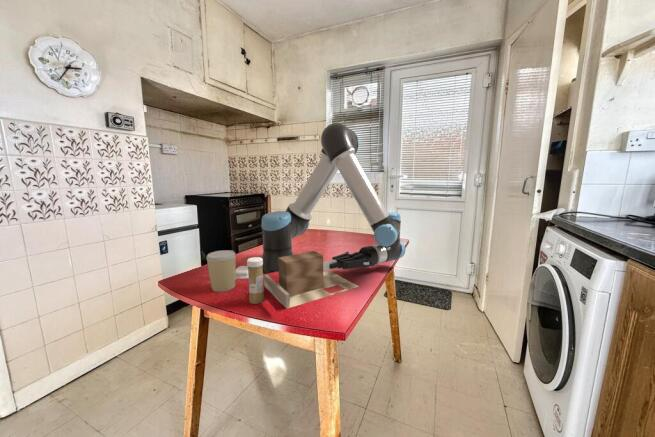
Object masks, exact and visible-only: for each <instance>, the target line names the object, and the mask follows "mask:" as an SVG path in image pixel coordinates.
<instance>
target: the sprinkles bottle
mask: <svg viewBox="0 0 655 437" xmlns="http://www.w3.org/2000/svg"><path fill="white" fill-rule="evenodd" d="M262 265H263V259H262V257H259V256H253V257H249V258H247V260H246V266H248V275H249V278H248V279H247V280H248V292H249V293H248V294H249V303H250V304H255V305H257V304H261V303H263V302H264V301H265V293H264V291H265V289H264V288H265V285H264V273H263V268H262Z"/></svg>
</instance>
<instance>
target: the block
mask: <svg viewBox="0 0 655 437" xmlns="http://www.w3.org/2000/svg"><path fill="white" fill-rule="evenodd" d="M323 262H324V255H323V254H322V253H320V252H317V251H315V250H311V251H306V252H301V253H296V254H294V255H289V256H284V257H279V258H278V267H279V272H278V283H279V285H280V286H281V287H282V288H283V289H284V290H285V291H286V292H288V293H289V295H290V297H291V296H295V295H298V294H302V293H305V292H309V291H312V290H316V289H319V288H323V287H324V279H323V272H324V271H323Z"/></svg>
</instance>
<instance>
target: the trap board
mask: <svg viewBox="0 0 655 437" xmlns="http://www.w3.org/2000/svg"><path fill="white" fill-rule="evenodd" d="M323 279H324V287H323V288H319V289H316V290H312V291H309V292H305V293H302V294H298V295H295V296H291V297H290V295H289V293H288V292H286V291H285V290H284V289H283V288H282V287H281V286H280V285H279V282H278V283H277V282H276V281H275V280H274V279H273V278H271V276H269V275H268V274H263V283H264V288H265V289H266V290H267V291H268V292H269V293H270V294H272V296H273V297H274V298H275V299H276V300H277V301H278V302H279V303H280V304H282V306H283V307H284V308H285V309H286V310H287V309H291V308H294V307H296V306H300V305H305V304H307V303H309V302H311V303H312V302H313V301H317V300H320V299H324V298H328V297H330V296H333V295H337V294H339V293H340V294H341V293H343V292H346V291H349V290H353V289H356V288H359V287H360V286H359V285H357V284H356V283H353V282H351V281H350V280H348V279H345V278H344V277H343V276H340V275H338V274H337V273H335V272H332V271H331V270H327V271H323ZM335 286H339V287H341V288H342V290H338V291H334V292H331V293H330V292H328V291H327V290H326V289H328V288H332V287H335Z"/></svg>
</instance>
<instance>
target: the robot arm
mask: <svg viewBox="0 0 655 437" xmlns="http://www.w3.org/2000/svg"><path fill="white" fill-rule="evenodd" d="M320 143H321V151H320V152H321V153H320V154H321V157H320V160H319V161H318V163H317V165H316V166H315V167H314V169H313V171H312V172H311V174H310V176H309V177H308V179H307V181H306V183H305V184H304V186H303V188H302V190H301V191H300V193H299V195H298V196H297V198H296V199H295V201H294V202H293V203H289V204H288V206H287V207H286V209H285V211H283V210H278V211H271V212H267V213H266V214H263V216H262V217H261V236H262V256H261V258H262V259H263V265H262V268H263V275H268V274H272V273H279V267H278V258H279V257H284V256H289V255H295V254H294V251H293V243H292V239H294V238H296V237H299V236H301V235H303V234H304V233H306V231H307V230H308V229H309V226H310V221H311V220H312V217H313V216H312V211H313V210H314V208H315V207H316V205H317V204H318V202H319V201H320V199H321V198H322V195H323V194H324V192H325V191H326V190H327V188H328V187H329V185H330V184H331V182H332V180H333V179H334V177H335V175H336V174H337V172H339V173H340V175H341V176H342V178H343V181H344V182H345V185H347V187H348V189H349V191H350V192H351V195H352V196H353V198H354V200H355V201H356V203H357V205H358V206H359V208H360V210H361V212H362V214H363V215H364V217H365V218H366V221H367V222H368V225H369V226H370V228H371V230H372V231H373V238H374V240H375V242H376V243H377V244H372V245H368V246H367V245H366V246H362V247H361V248H360V249H359V251H355V252H353V253H350V252H349V251H346V252H344V253H340V254H337V255H336V256H332V257H331V259H330V260H326V261H323V272H326V271H331V270H334V269H335V270H336V269H342V270H351V269H357V268H368V267H373V266H375V265H376V266H378V265H380V264H384V263H388V262H391V261H396V260H399V259H401V258H403V257H404V256H405V254H406V251H407V250H406V247H405V244H404V242H402V241H401V222H402V221H401V218H402V217H401V214H400V213H398V212H393V211H392V212H390V211H389V212H388V211H387V209H386V207H385V205H384V204H383V202H382V200H381V199H380V196H379V195H378V194H377V192H376V190H375V188H374V186H373V184H372V183H371V181H370V179H369V178H368V176H367V174H366V173H365V171H364V169H363V167H362V166H361V164H360V161H359V160H358V158H357V157H356V154H357V153H358V150H359V148H360V141H359V137H358V135H357V133H356V131H354V130H353V129H351V128H349V127H347V125H345V124H343V123H340V122H334V123H330V124H329V125H327V126H325V128H324V129H323V130H322V133H321V135H320Z"/></svg>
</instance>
